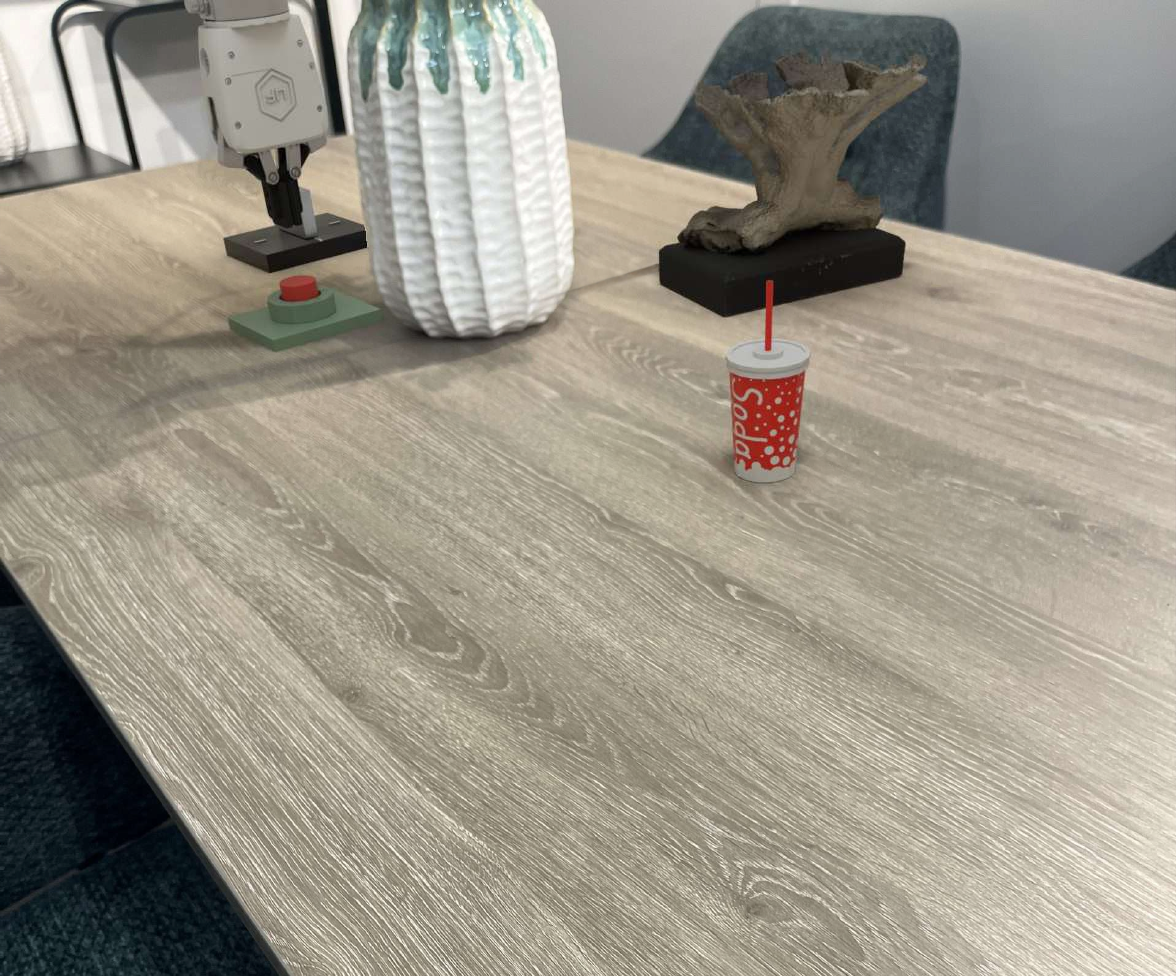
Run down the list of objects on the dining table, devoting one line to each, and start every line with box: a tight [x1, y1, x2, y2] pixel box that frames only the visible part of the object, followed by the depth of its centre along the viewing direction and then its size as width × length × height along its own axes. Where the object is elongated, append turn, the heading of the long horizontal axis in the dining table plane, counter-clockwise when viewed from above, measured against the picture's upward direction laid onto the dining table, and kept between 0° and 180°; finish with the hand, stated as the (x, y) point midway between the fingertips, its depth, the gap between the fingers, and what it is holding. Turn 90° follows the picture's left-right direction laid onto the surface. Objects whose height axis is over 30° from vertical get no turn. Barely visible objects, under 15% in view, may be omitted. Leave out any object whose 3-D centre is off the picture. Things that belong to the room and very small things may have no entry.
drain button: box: [278, 274, 319, 302], centre depth 126 cm, size 4×4×2 cm
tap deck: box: [222, 212, 368, 274], centre depth 150 cm, size 14×11×3 cm
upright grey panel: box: [278, 186, 318, 239], centre depth 148 cm, size 7×2×5 cm, turn 38°
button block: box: [227, 284, 383, 353], centre depth 128 cm, size 12×10×4 cm
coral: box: [658, 49, 928, 317], centre depth 126 cm, size 25×20×21 cm
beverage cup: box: [724, 280, 812, 484], centre depth 93 cm, size 6×6×14 cm
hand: (287, 223), depth 123 cm, fingers closed
